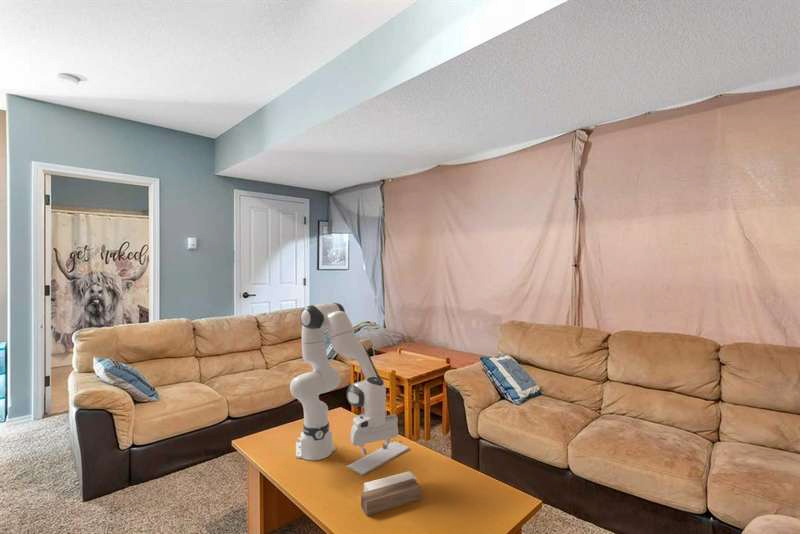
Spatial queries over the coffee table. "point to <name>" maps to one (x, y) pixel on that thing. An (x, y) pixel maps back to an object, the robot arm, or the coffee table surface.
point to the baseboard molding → (377, 458)
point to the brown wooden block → (390, 496)
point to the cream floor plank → (388, 481)
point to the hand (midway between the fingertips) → (374, 451)
